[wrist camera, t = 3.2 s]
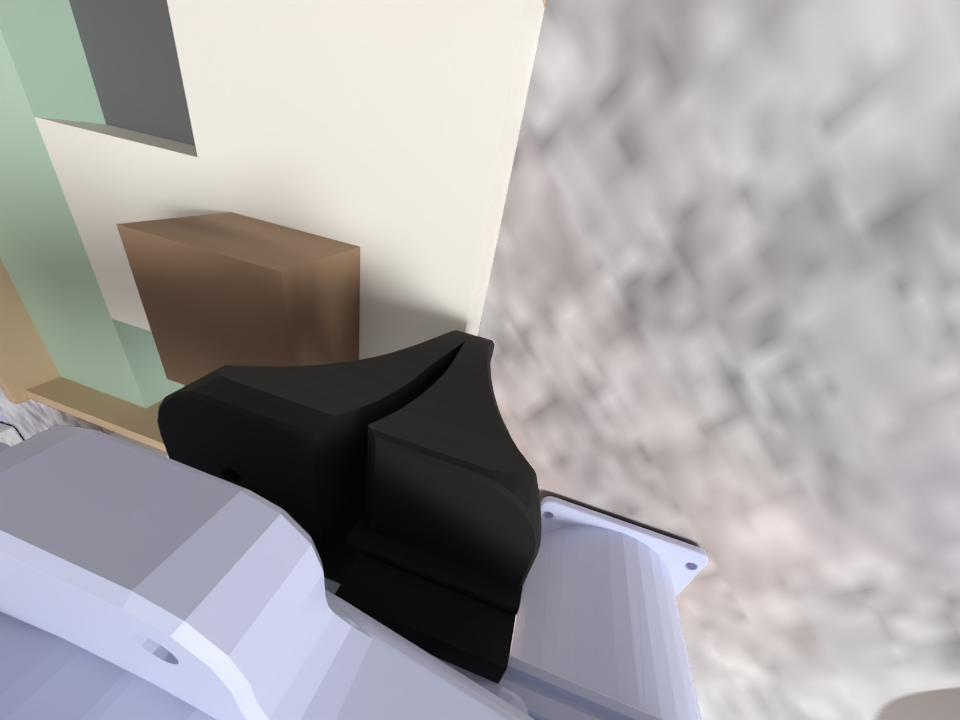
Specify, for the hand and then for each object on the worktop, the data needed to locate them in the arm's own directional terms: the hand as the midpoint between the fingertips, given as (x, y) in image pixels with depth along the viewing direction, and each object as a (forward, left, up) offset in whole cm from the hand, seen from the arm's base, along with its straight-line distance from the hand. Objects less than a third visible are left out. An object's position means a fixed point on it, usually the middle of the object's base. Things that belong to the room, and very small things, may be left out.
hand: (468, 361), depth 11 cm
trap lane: (0, +12, -3) cm, 13 cm away
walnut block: (0, +7, -1) cm, 7 cm away
